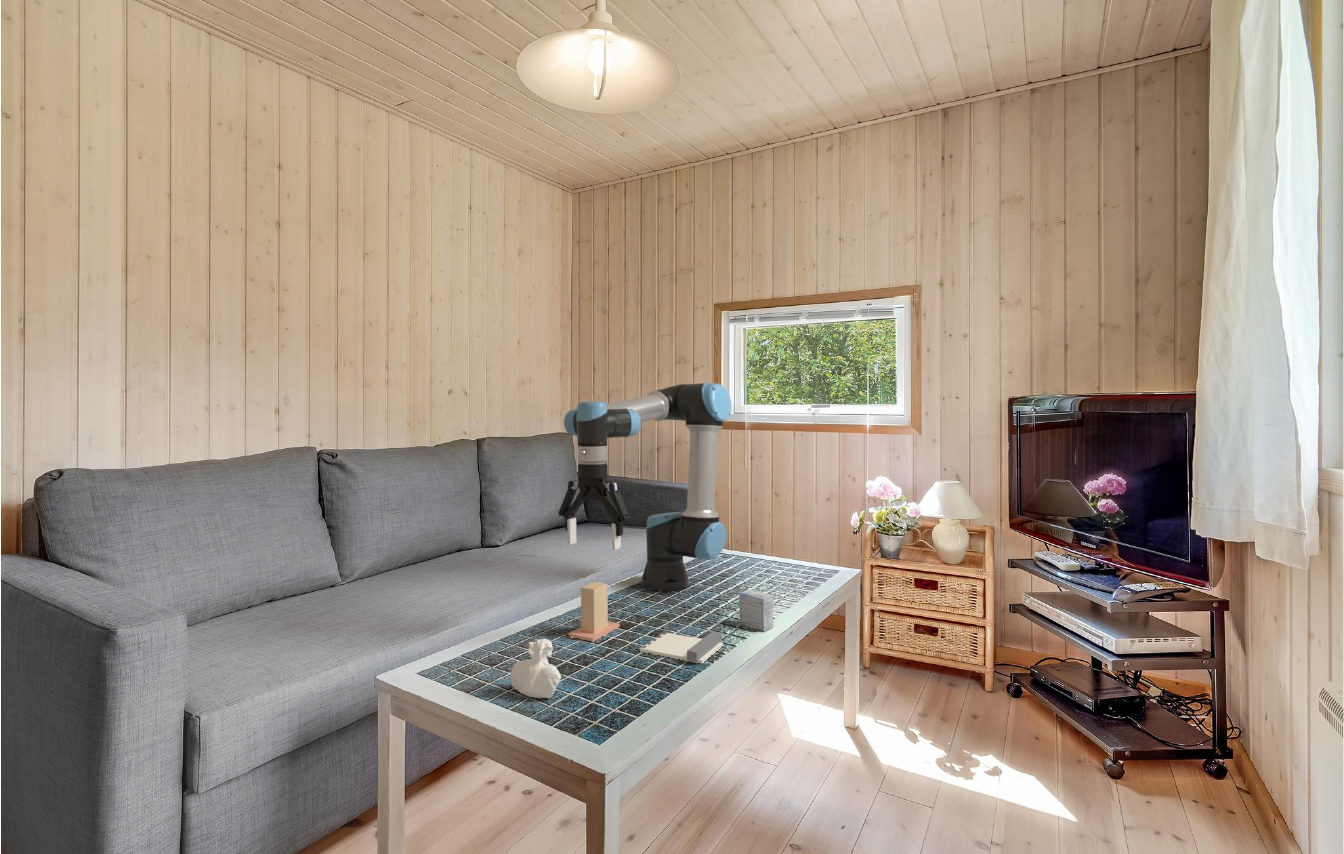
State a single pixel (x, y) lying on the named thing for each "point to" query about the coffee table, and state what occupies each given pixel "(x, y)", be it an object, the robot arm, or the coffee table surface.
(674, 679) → the coffee table surface
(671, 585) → the robot arm
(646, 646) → the cream flat slab
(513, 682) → the white tied sack
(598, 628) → the stub
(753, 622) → the grey rectangular block
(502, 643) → the coffee table surface
